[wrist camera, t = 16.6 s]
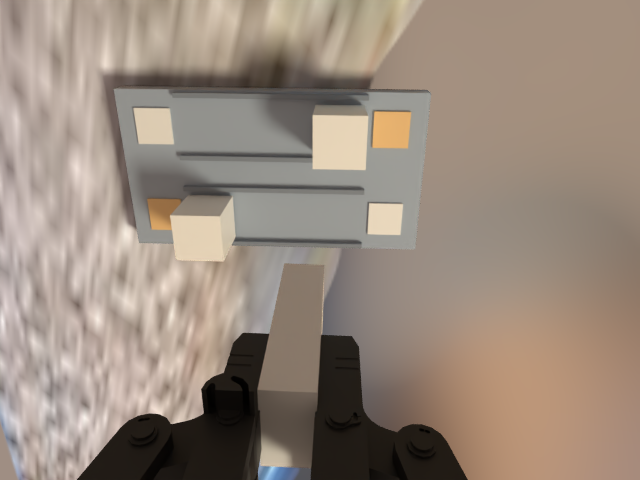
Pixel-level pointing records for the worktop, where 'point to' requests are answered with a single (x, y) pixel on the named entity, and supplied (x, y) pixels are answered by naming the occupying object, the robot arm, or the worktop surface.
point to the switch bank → (274, 163)
